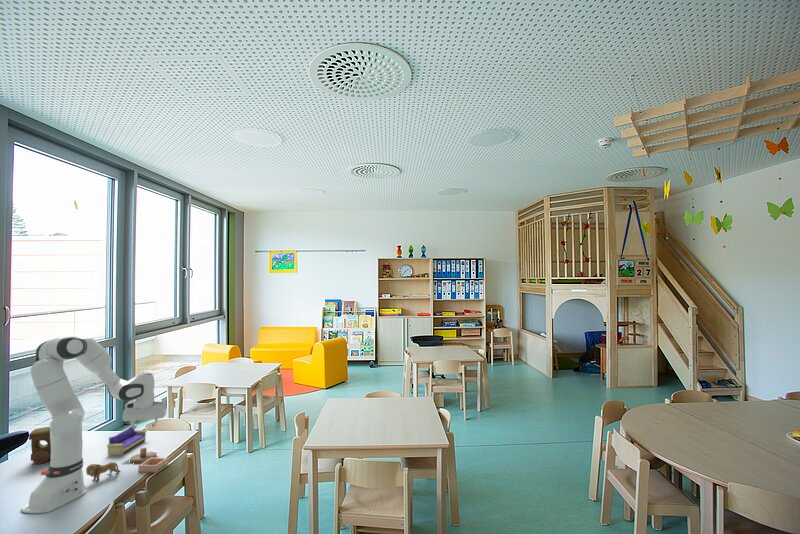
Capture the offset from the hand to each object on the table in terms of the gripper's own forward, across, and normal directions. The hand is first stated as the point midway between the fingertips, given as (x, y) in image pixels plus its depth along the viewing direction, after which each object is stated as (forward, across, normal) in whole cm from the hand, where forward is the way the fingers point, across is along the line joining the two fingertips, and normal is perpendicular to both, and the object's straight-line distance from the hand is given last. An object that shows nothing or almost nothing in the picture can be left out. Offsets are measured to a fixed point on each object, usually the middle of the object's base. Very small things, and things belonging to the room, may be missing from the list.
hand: (144, 427), depth 211 cm
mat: (+17, 0, 0) cm, 17 cm away
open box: (+17, -9, +14) cm, 24 cm away
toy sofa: (+18, +14, -18) cm, 29 cm away
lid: (+17, 0, 0) cm, 17 cm away
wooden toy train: (+17, +47, -14) cm, 52 cm away
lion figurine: (+17, +12, +19) cm, 28 cm away
